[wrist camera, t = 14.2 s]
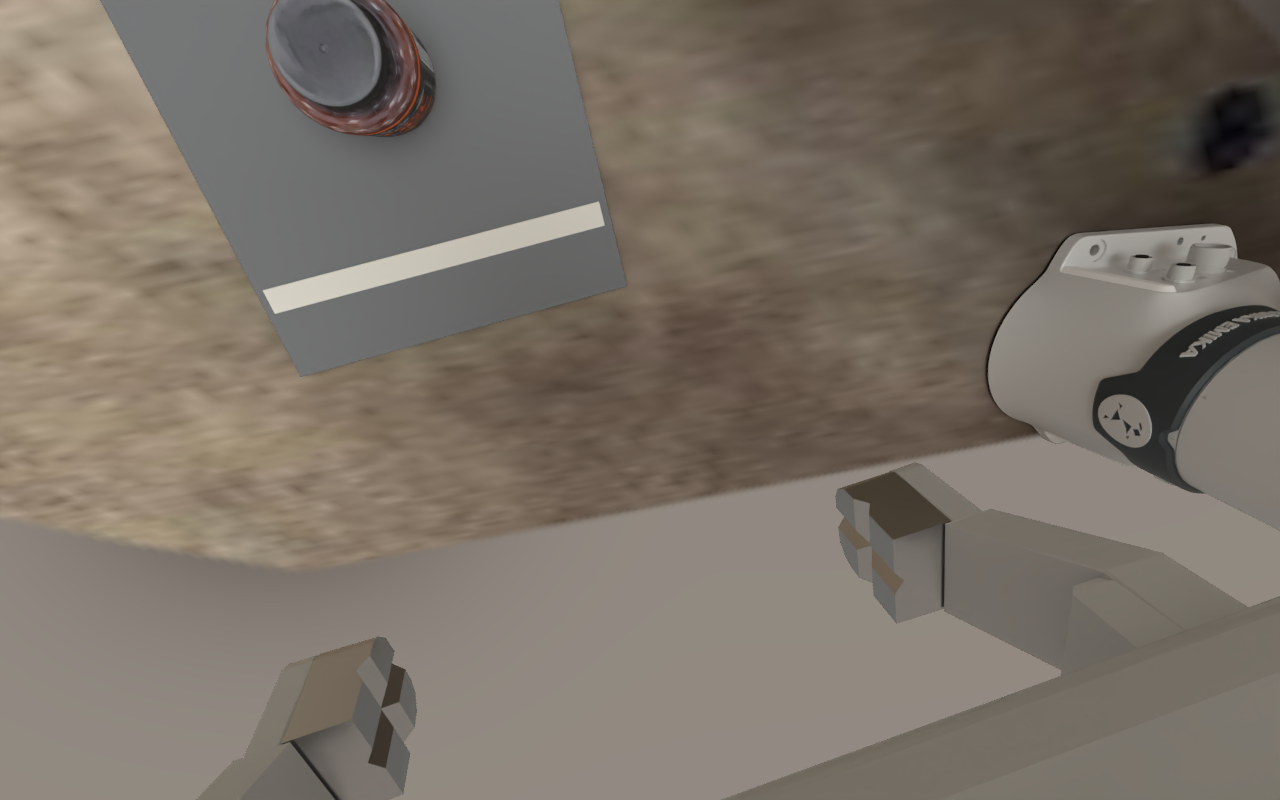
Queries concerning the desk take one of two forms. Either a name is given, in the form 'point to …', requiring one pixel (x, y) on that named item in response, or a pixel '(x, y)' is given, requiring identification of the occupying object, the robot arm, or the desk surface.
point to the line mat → (389, 175)
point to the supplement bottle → (350, 65)
